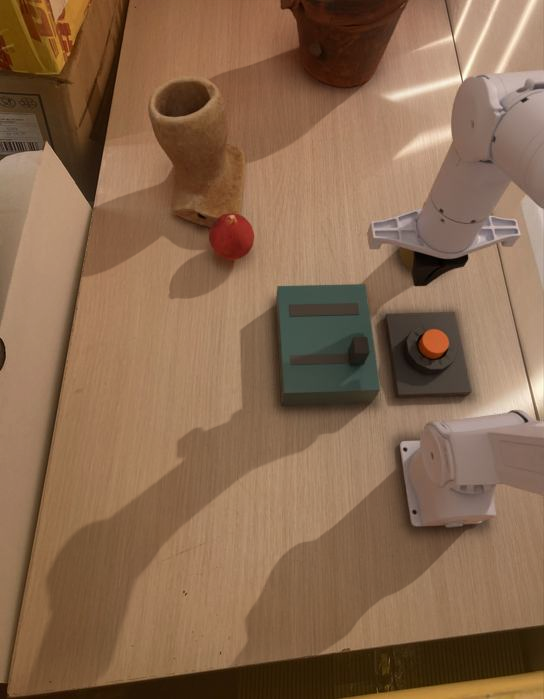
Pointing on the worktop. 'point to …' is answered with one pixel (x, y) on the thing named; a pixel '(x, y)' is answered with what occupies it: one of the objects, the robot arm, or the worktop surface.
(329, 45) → the brown plant pot
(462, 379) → the block
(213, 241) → the onion
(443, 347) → the button
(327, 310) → the green slider box
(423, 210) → the robot arm
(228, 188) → the tan hollow curved piece
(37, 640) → the worktop surface
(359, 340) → the slider knob
